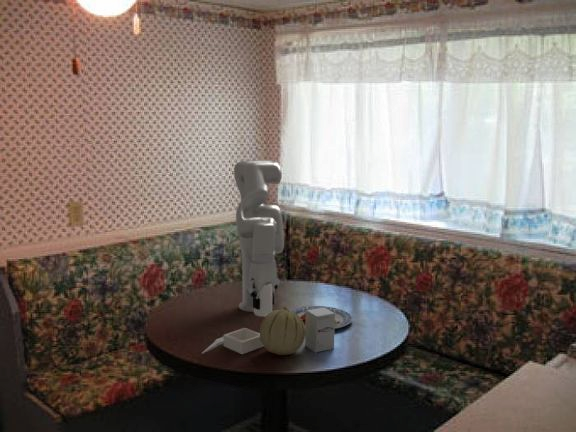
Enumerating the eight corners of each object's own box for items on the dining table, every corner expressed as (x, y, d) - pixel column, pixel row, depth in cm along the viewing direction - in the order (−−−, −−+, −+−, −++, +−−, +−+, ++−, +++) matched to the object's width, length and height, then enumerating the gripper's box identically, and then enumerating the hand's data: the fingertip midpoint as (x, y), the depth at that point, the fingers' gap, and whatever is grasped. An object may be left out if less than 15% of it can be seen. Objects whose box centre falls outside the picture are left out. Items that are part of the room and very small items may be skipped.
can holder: (245, 338, 201) (245, 327, 200) (263, 346, 194) (263, 335, 193) (223, 346, 194) (223, 334, 193) (242, 354, 187) (242, 342, 186)
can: (269, 318, 201) (270, 285, 199) (252, 316, 202) (252, 283, 200) (274, 311, 207) (274, 279, 205) (256, 309, 209) (256, 278, 206)
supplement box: (315, 353, 188) (316, 316, 186) (304, 345, 195) (304, 309, 193) (334, 349, 192) (335, 313, 190) (323, 341, 198) (323, 306, 196)
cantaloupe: (259, 363, 181) (259, 317, 178) (259, 344, 195) (259, 302, 193) (306, 362, 181) (307, 316, 179) (303, 344, 196) (303, 301, 193)
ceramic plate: (269, 322, 217) (269, 315, 217) (313, 306, 236) (313, 299, 235) (322, 340, 200) (322, 332, 199) (365, 322, 218) (365, 314, 218)
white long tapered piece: (224, 338, 201) (224, 333, 201) (230, 339, 200) (230, 334, 199) (198, 355, 188) (198, 350, 188) (205, 357, 187) (204, 352, 186)
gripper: (274, 250, 209) (273, 297, 213) (237, 259, 197) (238, 309, 201) (288, 254, 204) (288, 302, 208) (252, 264, 192) (252, 315, 196)
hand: (263, 305), depth 204 cm, fingers closed on can, 6 cm apart
